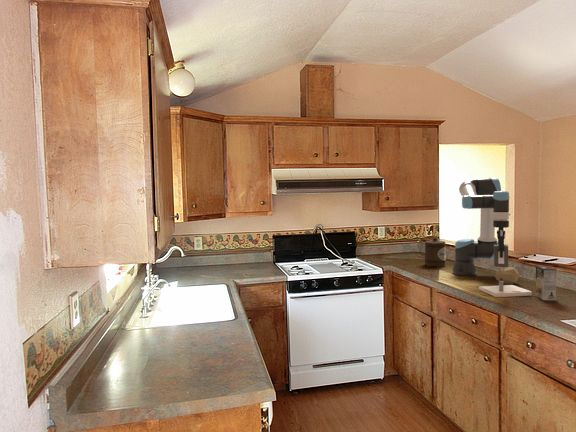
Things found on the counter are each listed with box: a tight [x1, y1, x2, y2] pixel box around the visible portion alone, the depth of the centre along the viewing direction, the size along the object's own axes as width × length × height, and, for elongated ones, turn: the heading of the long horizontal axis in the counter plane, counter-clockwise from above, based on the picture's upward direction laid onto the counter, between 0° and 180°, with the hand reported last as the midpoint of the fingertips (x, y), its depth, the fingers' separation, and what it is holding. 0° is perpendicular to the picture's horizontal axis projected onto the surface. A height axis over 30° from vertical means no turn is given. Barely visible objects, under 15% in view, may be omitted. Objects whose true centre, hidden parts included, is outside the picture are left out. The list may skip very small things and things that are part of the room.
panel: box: [478, 281, 533, 298], centre depth 219 cm, size 16×20×7 cm
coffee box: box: [535, 265, 557, 301], centre depth 206 cm, size 9×6×16 cm
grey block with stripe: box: [493, 243, 509, 268], centre depth 215 cm, size 7×7×12 cm
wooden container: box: [424, 236, 446, 268], centre depth 304 cm, size 15×15×22 cm
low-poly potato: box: [494, 266, 520, 285], centre depth 240 cm, size 15×11×12 cm
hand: (500, 262), depth 215 cm, fingers closed on grey block with stripe, 7 cm apart
